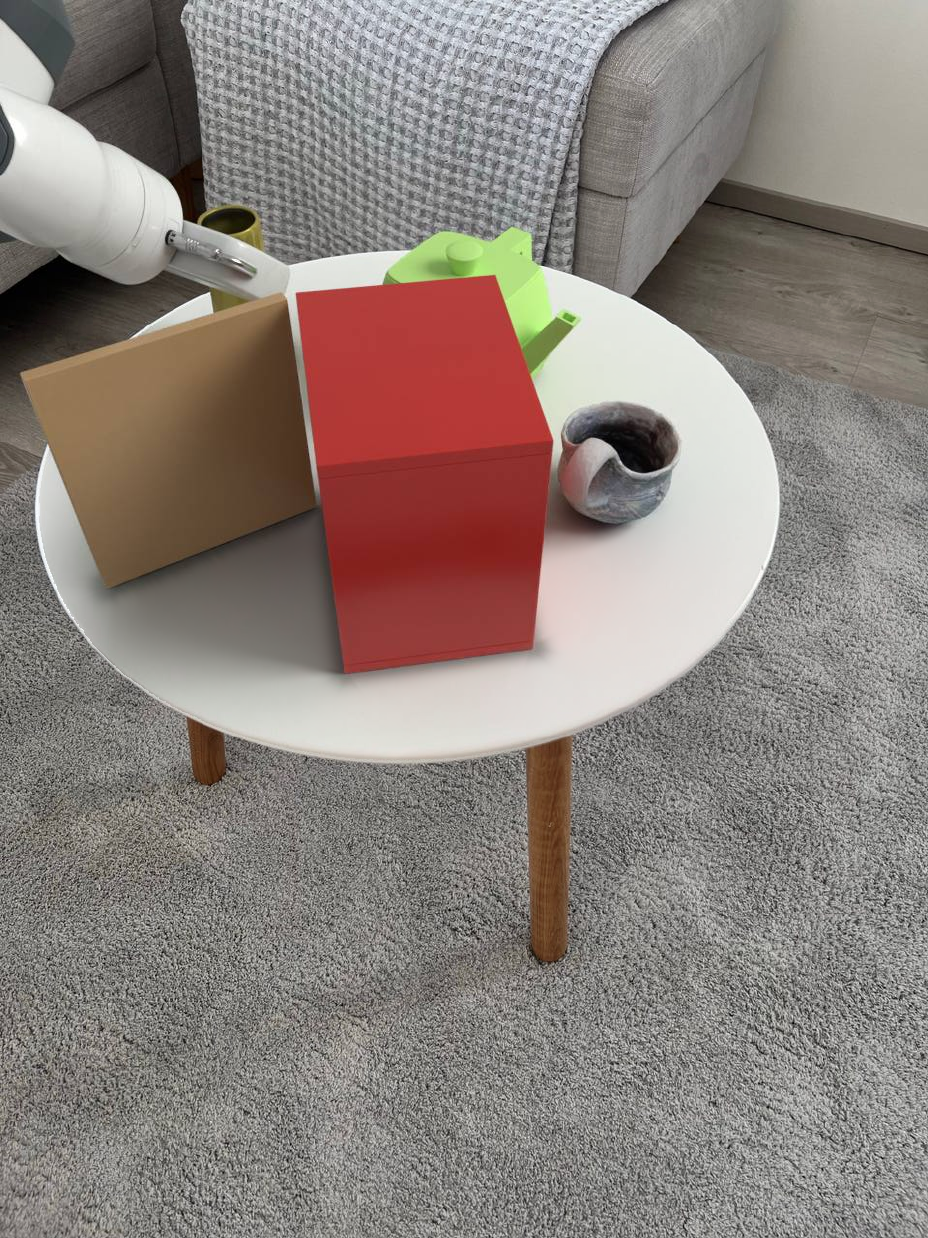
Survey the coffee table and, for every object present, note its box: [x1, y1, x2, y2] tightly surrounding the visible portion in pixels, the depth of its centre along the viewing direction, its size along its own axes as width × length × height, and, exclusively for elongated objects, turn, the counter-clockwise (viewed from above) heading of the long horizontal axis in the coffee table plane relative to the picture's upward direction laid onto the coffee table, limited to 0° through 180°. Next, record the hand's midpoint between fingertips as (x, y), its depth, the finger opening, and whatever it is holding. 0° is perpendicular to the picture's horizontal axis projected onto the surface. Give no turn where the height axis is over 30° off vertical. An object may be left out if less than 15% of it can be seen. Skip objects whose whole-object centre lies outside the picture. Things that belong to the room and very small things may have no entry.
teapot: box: [381, 226, 582, 381], centre depth 91 cm, size 18×20×13 cm
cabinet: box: [295, 275, 554, 674], centre depth 73 cm, size 14×18×20 cm
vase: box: [196, 204, 266, 313], centre depth 92 cm, size 6×6×14 cm
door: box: [19, 292, 317, 590], centre depth 76 cm, size 6×18×20 cm, turn 121°
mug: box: [557, 400, 682, 525], centre depth 81 cm, size 10×12×10 cm
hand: (224, 274), depth 90 cm, fingers open, 8 cm apart
